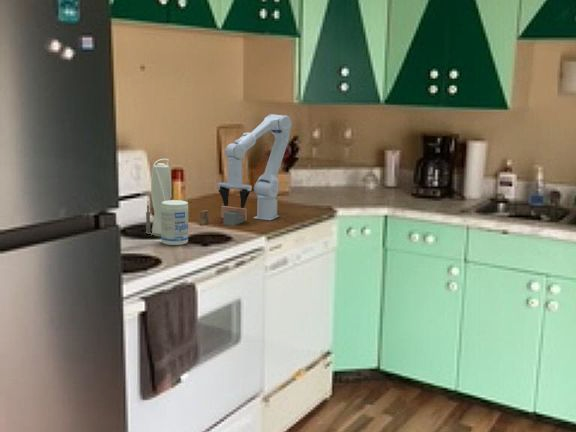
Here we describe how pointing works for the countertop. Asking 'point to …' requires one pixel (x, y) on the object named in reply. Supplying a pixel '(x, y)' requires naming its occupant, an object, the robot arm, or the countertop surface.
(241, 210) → the door
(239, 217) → the block
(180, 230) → the supplement tub
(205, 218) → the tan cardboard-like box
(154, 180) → the skyscraper
